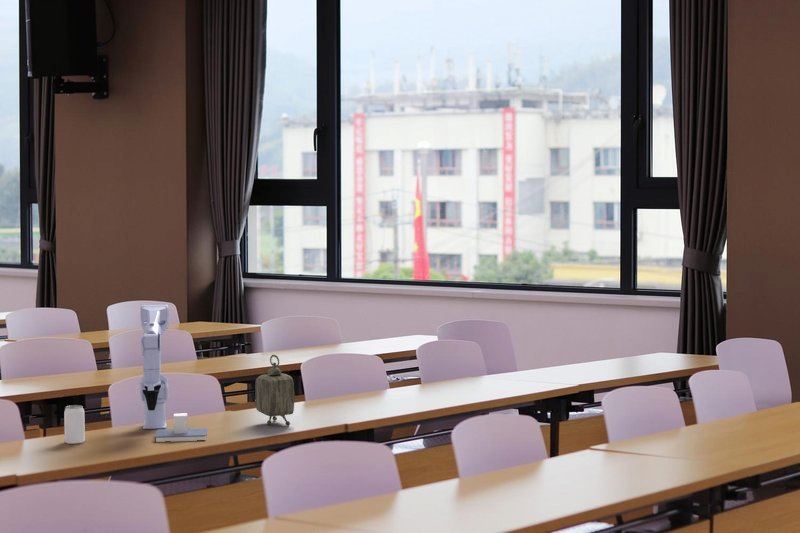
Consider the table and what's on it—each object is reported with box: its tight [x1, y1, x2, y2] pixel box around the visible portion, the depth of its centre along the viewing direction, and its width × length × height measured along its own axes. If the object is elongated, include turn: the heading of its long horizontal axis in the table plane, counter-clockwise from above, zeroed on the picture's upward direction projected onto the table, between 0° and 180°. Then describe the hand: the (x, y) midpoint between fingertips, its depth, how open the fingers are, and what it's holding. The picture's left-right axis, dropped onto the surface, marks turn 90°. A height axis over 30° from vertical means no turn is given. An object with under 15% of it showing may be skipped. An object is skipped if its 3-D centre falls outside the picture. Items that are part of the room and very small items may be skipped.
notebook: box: [154, 427, 209, 443], centre depth 398 cm, size 12×17×2 cm
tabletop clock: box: [254, 354, 295, 427], centre depth 420 cm, size 14×9×25 cm, turn 32°
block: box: [173, 412, 189, 434], centre depth 398 cm, size 4×4×6 cm
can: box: [63, 404, 86, 445], centre depth 390 cm, size 6×6×12 cm
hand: (152, 408), depth 401 cm, fingers open, 7 cm apart
